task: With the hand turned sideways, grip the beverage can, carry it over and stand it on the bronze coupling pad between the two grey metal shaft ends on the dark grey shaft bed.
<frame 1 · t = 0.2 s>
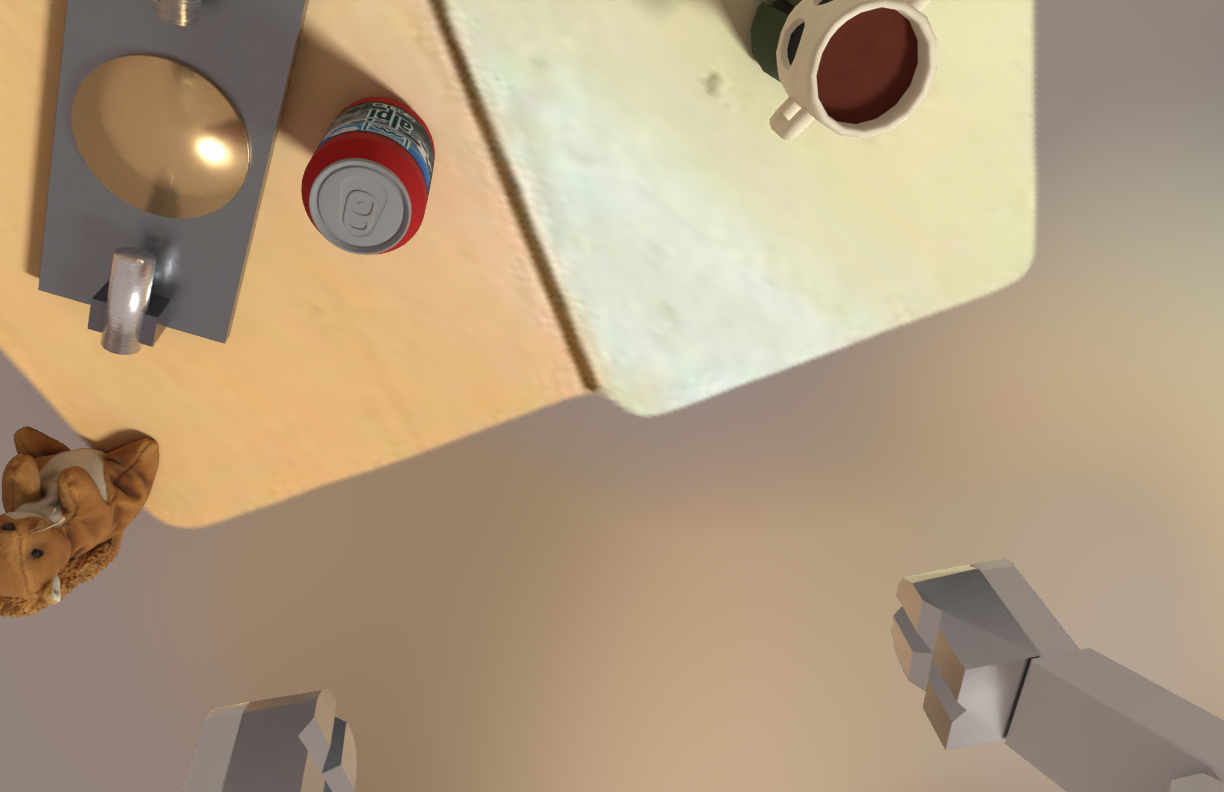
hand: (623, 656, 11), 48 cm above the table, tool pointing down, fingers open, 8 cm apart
character mug: (793, 29, 53), on the table
shaft bed: (171, 133, 51), on the table
beverage can: (384, 145, 53), on the table
squirrel figurine: (91, 485, 65), on the table
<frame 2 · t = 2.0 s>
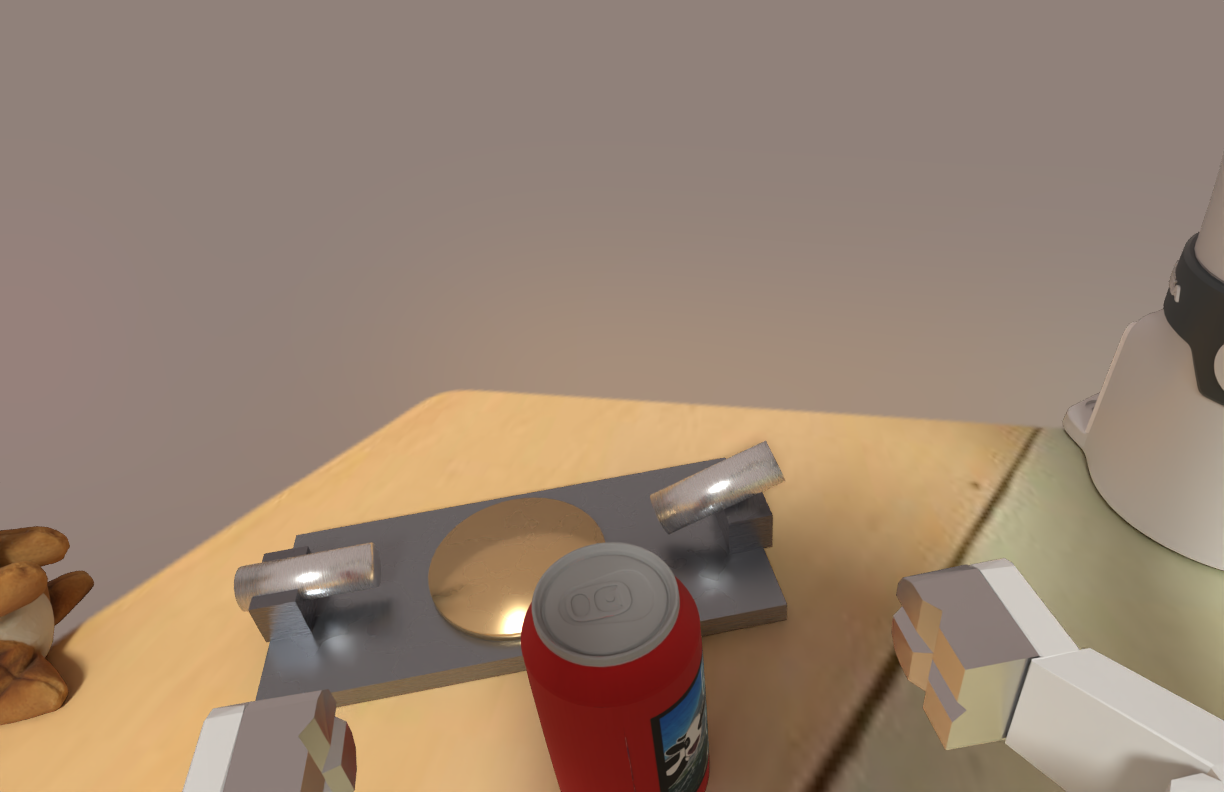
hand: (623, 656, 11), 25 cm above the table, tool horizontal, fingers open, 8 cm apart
shaft bed: (522, 581, 45), on the table
beverage can: (635, 776, 36), on the table
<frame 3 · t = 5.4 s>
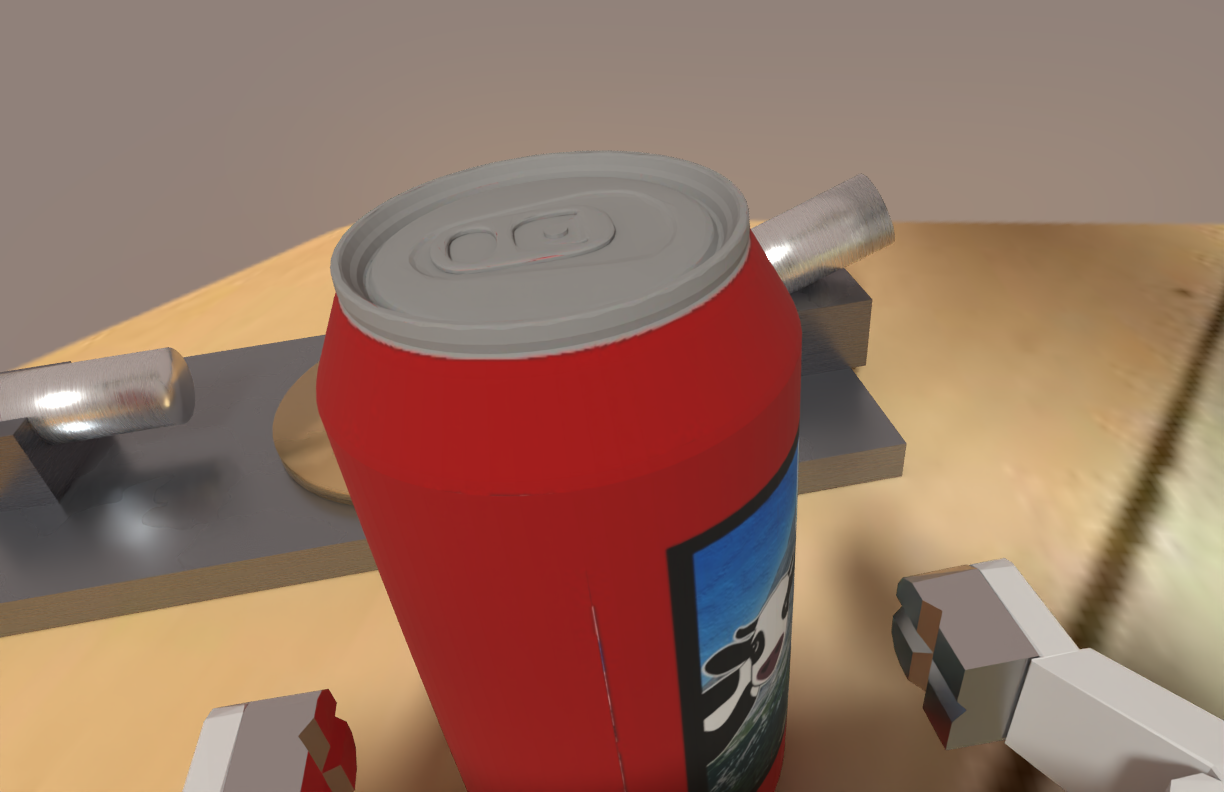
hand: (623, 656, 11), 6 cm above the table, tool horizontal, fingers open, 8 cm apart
shaft bed: (442, 431, 27), on the table
beverage can: (626, 748, 17), on the table
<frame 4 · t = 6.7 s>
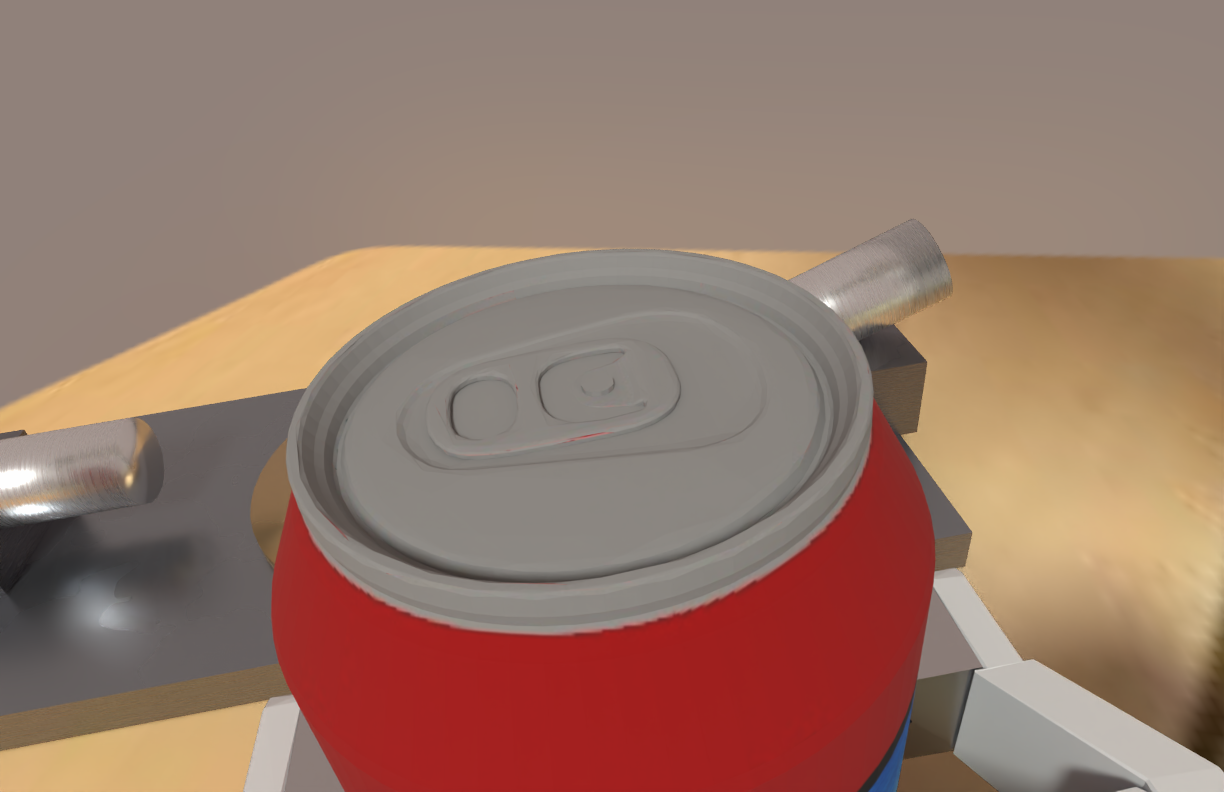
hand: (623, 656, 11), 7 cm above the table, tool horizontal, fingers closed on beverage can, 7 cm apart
shaft bed: (441, 502, 24), on the table
when the fingers open (10 cm above the table, at t = 12.7 s): beverage can moves 1 cm, resting on shaft bed.
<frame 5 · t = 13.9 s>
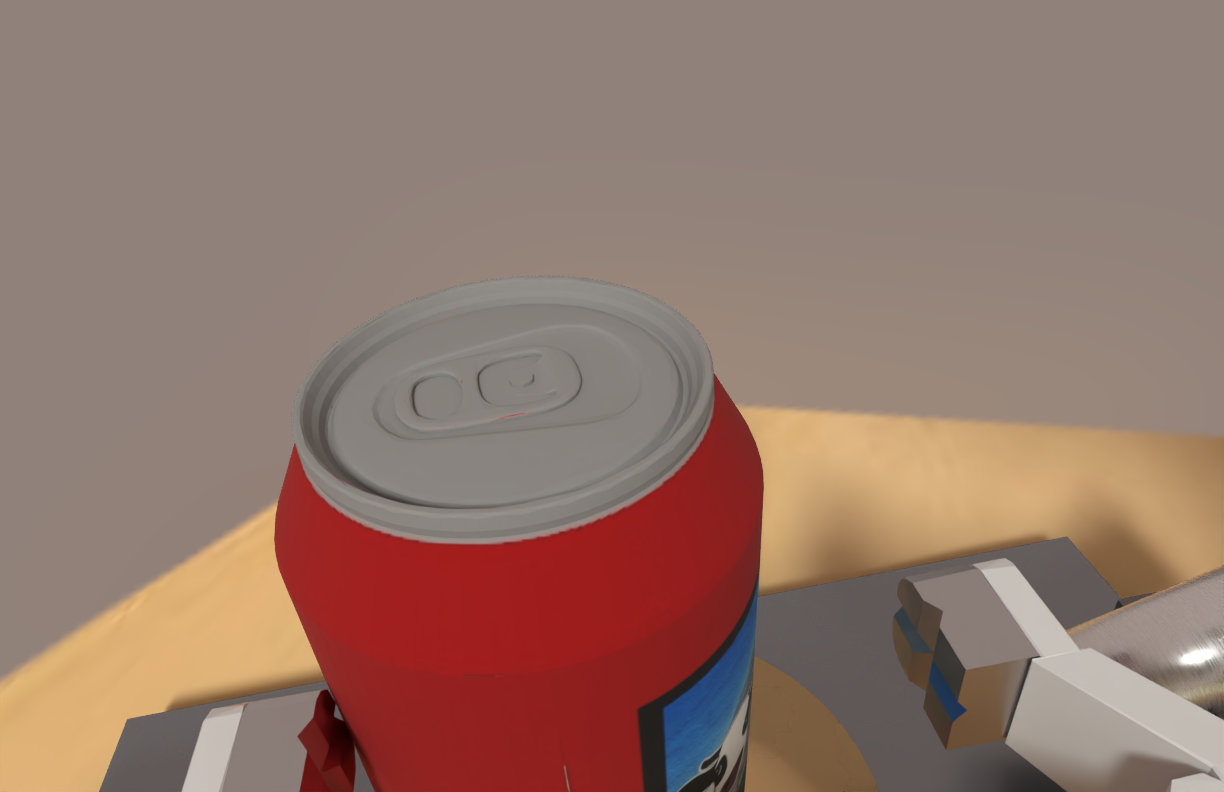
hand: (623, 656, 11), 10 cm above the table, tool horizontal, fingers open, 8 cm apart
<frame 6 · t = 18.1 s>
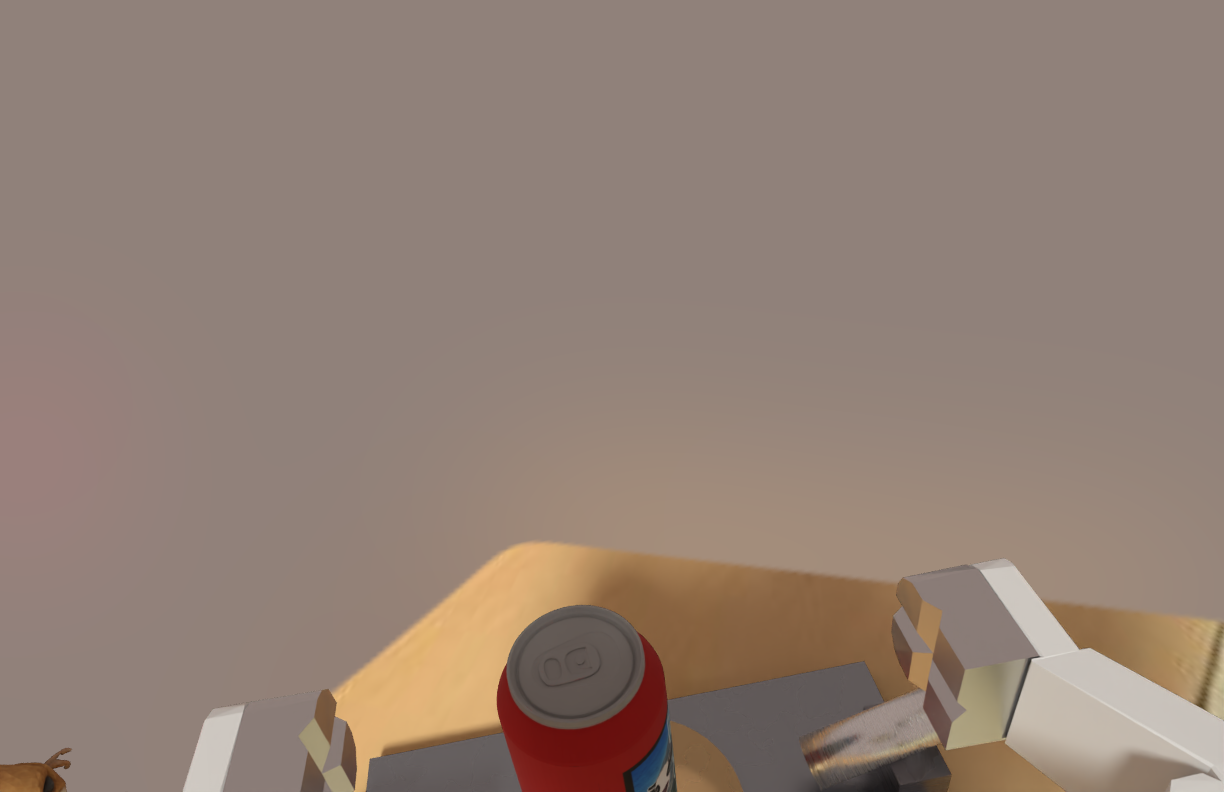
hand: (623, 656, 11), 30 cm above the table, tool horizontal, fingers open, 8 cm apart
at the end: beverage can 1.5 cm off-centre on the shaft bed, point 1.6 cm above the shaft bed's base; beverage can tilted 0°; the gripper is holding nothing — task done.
